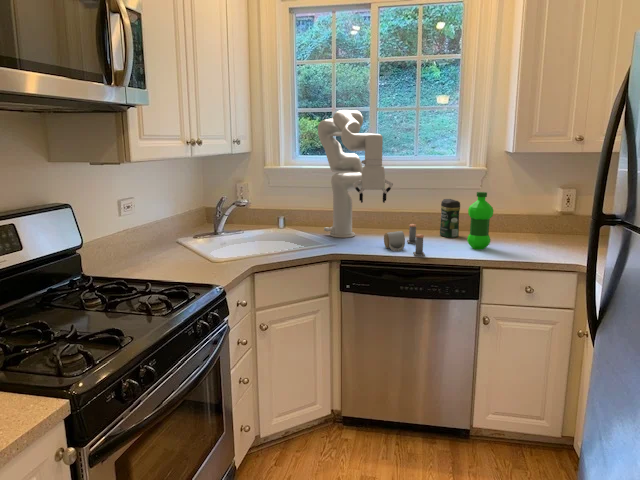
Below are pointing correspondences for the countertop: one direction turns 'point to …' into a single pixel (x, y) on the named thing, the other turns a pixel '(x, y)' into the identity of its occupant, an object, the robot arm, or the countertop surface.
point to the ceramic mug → (394, 240)
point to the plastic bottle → (480, 222)
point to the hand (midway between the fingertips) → (372, 202)
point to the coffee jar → (450, 218)
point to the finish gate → (416, 240)
